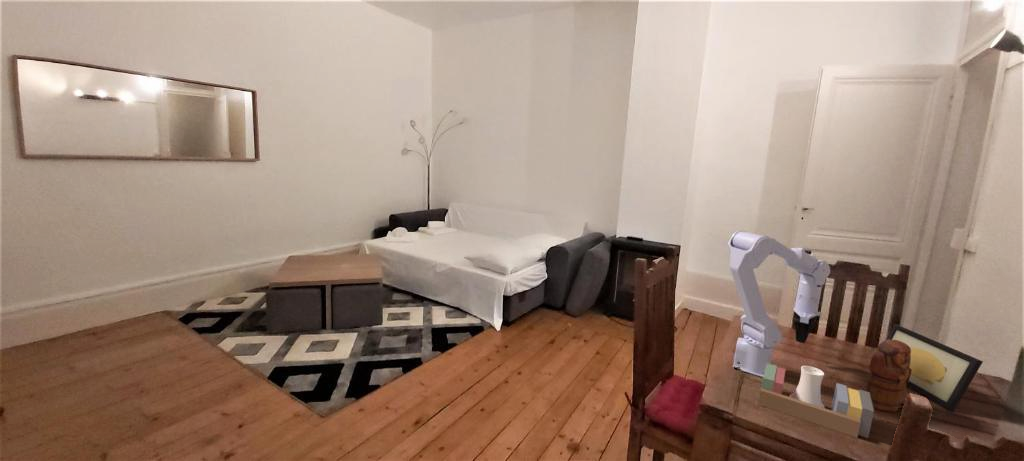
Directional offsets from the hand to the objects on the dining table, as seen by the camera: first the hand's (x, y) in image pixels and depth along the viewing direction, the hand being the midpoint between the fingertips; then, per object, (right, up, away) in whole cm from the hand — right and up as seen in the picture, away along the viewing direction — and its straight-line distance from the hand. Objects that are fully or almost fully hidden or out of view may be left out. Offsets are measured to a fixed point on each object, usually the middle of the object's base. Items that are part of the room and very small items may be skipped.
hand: (800, 337), depth 125 cm
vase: (-13, -13, -19) cm, 26 cm away
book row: (-13, -13, -22) cm, 29 cm away
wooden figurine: (+10, -13, -17) cm, 24 cm away
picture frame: (+30, -13, -8) cm, 33 cm away
